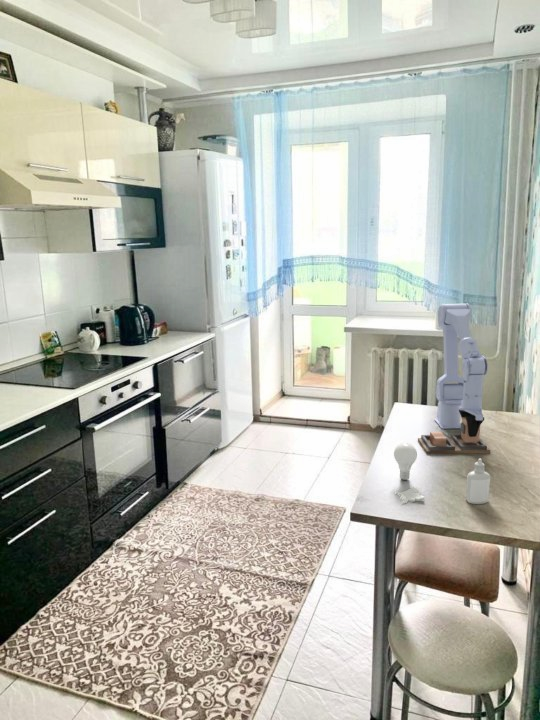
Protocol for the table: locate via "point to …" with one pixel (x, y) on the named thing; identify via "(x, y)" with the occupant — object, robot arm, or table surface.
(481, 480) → the eye dropper bottle
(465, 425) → the pinkish brown block
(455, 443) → the brown flat tray
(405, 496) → the acanthus leaf ornament
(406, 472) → the lightbulb
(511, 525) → the table surface
